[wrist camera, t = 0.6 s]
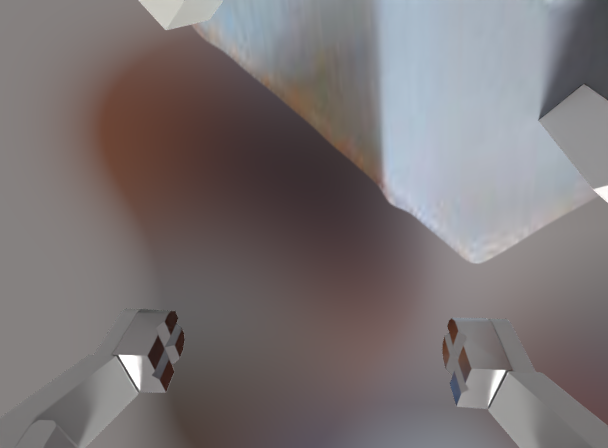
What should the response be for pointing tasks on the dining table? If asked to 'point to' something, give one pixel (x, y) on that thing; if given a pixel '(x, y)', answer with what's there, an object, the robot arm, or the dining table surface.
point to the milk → (583, 135)
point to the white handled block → (181, 11)
